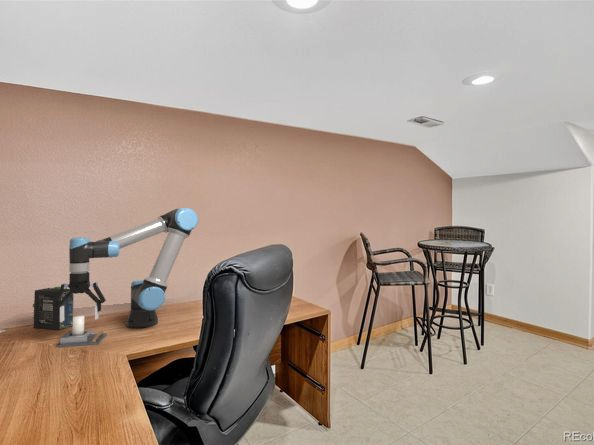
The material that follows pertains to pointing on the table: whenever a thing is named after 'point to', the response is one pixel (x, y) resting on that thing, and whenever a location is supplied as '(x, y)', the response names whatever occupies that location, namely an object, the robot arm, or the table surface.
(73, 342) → the jig
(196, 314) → the table surface
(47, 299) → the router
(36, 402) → the table surface
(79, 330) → the white rounded cylinder
